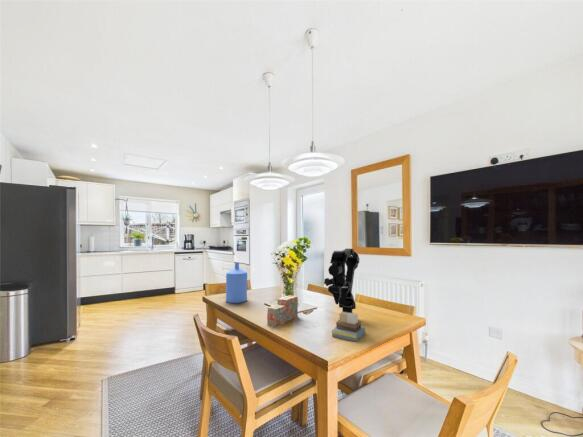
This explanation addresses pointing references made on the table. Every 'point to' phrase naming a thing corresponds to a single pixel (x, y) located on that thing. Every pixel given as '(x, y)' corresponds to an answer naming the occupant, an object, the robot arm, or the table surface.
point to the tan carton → (343, 317)
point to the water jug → (236, 285)
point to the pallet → (348, 326)
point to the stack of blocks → (283, 310)
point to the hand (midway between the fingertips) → (340, 302)
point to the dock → (348, 334)
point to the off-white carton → (352, 318)
